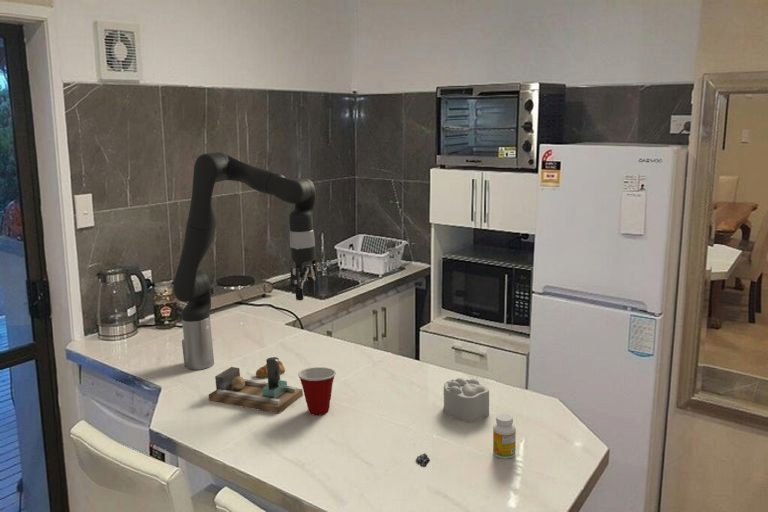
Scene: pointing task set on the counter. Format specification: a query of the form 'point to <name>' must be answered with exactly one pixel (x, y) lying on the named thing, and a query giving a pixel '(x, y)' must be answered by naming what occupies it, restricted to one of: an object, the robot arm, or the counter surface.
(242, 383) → the walnut
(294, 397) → the base
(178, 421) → the counter surface
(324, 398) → the plastic cup
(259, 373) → the pastry
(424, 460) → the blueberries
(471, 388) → the lumpy-topped squat cylinder
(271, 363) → the jaw
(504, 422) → the supplement bottle
